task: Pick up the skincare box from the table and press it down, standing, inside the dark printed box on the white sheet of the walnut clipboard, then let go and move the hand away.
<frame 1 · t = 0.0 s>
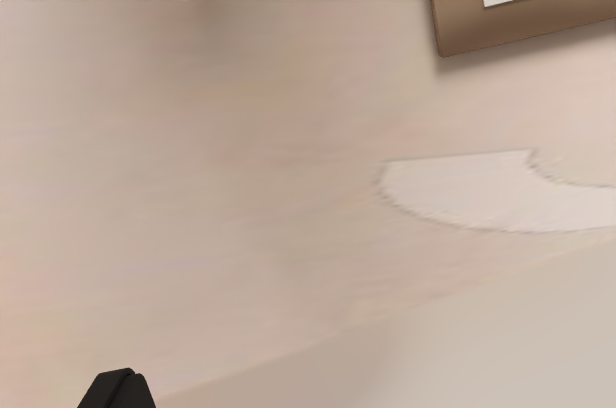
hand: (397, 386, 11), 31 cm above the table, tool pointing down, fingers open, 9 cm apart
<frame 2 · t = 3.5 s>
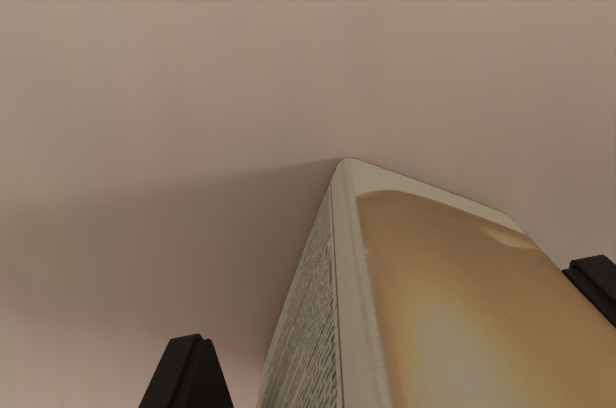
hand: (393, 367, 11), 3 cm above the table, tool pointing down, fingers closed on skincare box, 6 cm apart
skincare box: (380, 285, 14), on the table, touching gripper
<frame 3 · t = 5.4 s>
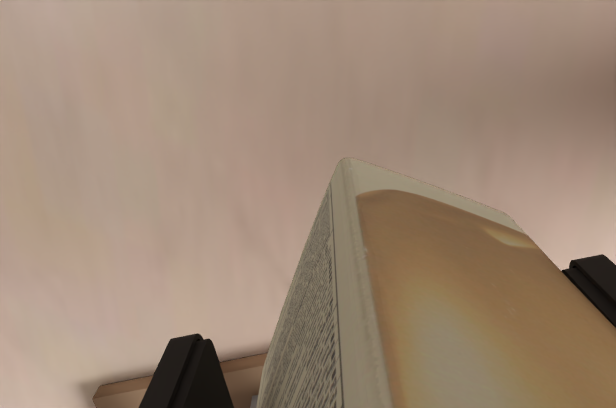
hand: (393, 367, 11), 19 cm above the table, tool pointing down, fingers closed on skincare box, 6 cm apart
skincare box: (380, 284, 14), point 16 cm above the table, touching gripper
when the fingers open (6 cm above the table, at t = 9.5 s): skincare box stays where it is, resting on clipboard.
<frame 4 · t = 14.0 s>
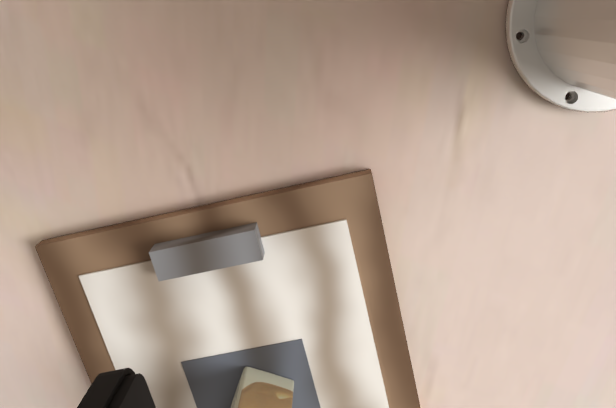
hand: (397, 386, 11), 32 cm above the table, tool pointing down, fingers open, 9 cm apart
skincare box: (260, 399, 48), point 1 cm above the table, touching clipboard
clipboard: (258, 391, 49), on the table
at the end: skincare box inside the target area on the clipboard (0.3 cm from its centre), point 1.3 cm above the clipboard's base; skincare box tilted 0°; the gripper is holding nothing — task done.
